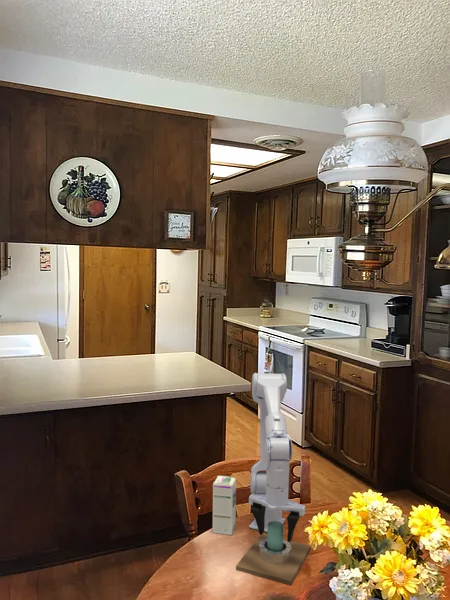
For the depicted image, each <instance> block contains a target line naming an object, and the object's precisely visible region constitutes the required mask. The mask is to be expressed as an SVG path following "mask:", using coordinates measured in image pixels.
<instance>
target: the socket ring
mask: <svg viewBox="0 0 450 600" xmlns="http://www.w3.org/2000/svg"><path fill="white" fill-rule="evenodd" d="M291 550H292V547H291V545H290V543H289V542H287V541H285V540H283V551H281V552H274V551H270V550H268V549H267V539H264V540H262V541H261V542H260V544H259V556H260V558H261V559H262V560H264V561H265V562H268V563H271V564H283V563H286V562H288V561H289V560H290V558H291Z"/></svg>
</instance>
